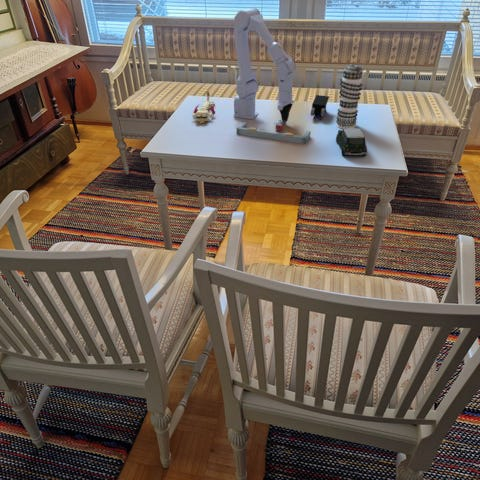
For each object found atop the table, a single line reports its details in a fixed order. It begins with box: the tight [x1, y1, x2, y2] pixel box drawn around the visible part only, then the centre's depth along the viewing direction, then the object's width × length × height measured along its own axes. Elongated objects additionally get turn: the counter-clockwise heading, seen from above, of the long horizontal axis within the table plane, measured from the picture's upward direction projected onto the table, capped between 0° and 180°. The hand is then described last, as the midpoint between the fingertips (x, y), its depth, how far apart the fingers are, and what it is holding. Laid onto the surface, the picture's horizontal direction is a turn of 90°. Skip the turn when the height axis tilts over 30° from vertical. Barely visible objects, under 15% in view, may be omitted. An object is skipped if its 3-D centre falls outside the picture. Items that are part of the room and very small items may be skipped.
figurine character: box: [310, 94, 330, 121], centre depth 194 cm, size 7×8×15 cm
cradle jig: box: [236, 121, 311, 145], centre depth 177 cm, size 30×8×3 cm, turn 67°
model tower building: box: [335, 63, 364, 130], centre depth 178 cm, size 9×9×25 cm
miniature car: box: [335, 127, 368, 157], centre depth 163 cm, size 9×18×8 cm, turn 0°
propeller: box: [273, 119, 285, 131], centre depth 181 cm, size 4×25×4 cm, turn 161°
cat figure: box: [191, 90, 216, 124], centre depth 197 cm, size 10×9×25 cm
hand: (284, 121), depth 186 cm, fingers closed, pressing on propeller
